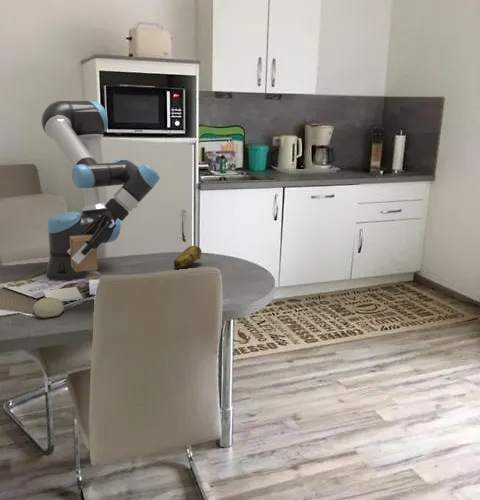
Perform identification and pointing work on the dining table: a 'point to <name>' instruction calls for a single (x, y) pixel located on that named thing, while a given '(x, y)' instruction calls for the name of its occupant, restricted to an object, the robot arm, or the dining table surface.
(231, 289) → the dining table surface
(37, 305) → the sea urchin shell
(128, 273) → the dining table surface
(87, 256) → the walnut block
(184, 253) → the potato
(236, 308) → the dining table surface
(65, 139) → the robot arm
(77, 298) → the tile
